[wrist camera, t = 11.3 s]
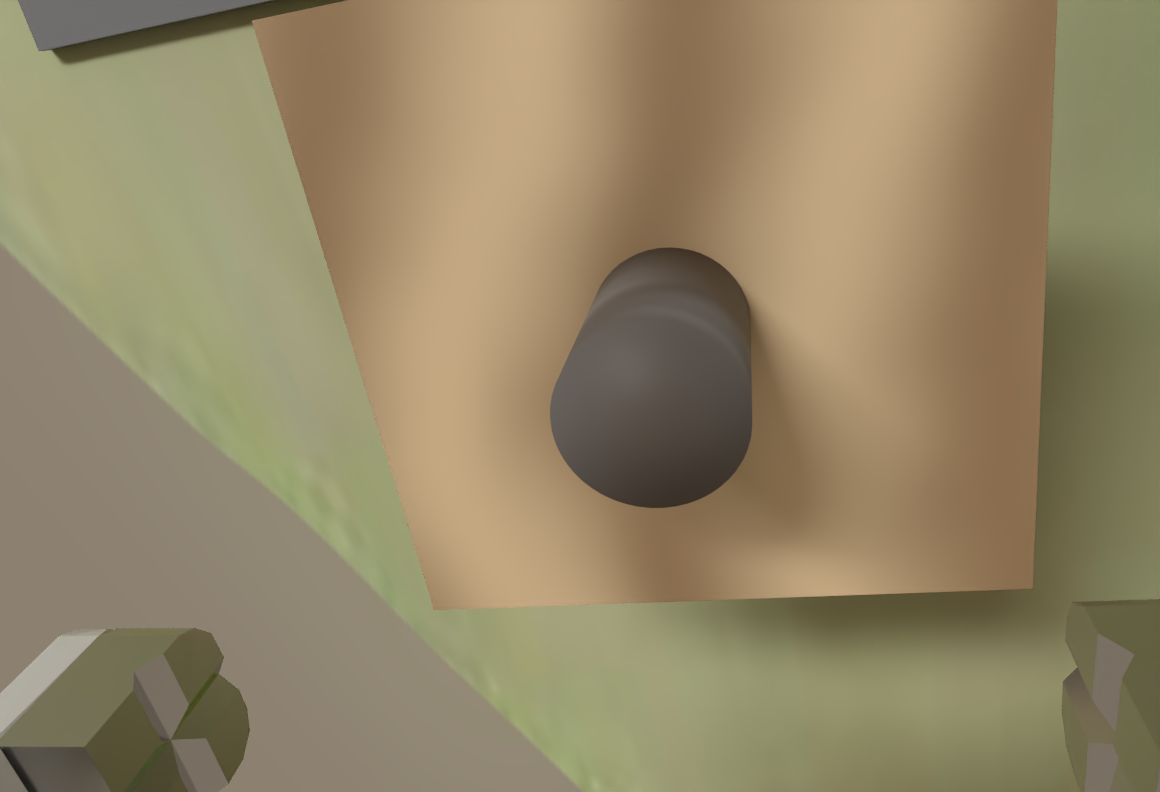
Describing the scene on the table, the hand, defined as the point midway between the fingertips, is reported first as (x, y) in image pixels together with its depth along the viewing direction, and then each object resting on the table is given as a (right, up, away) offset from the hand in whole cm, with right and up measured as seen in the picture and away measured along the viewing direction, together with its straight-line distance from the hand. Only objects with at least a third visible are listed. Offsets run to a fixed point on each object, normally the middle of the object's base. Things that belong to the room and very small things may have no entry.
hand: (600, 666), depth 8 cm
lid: (+2, +4, +9) cm, 10 cm away
